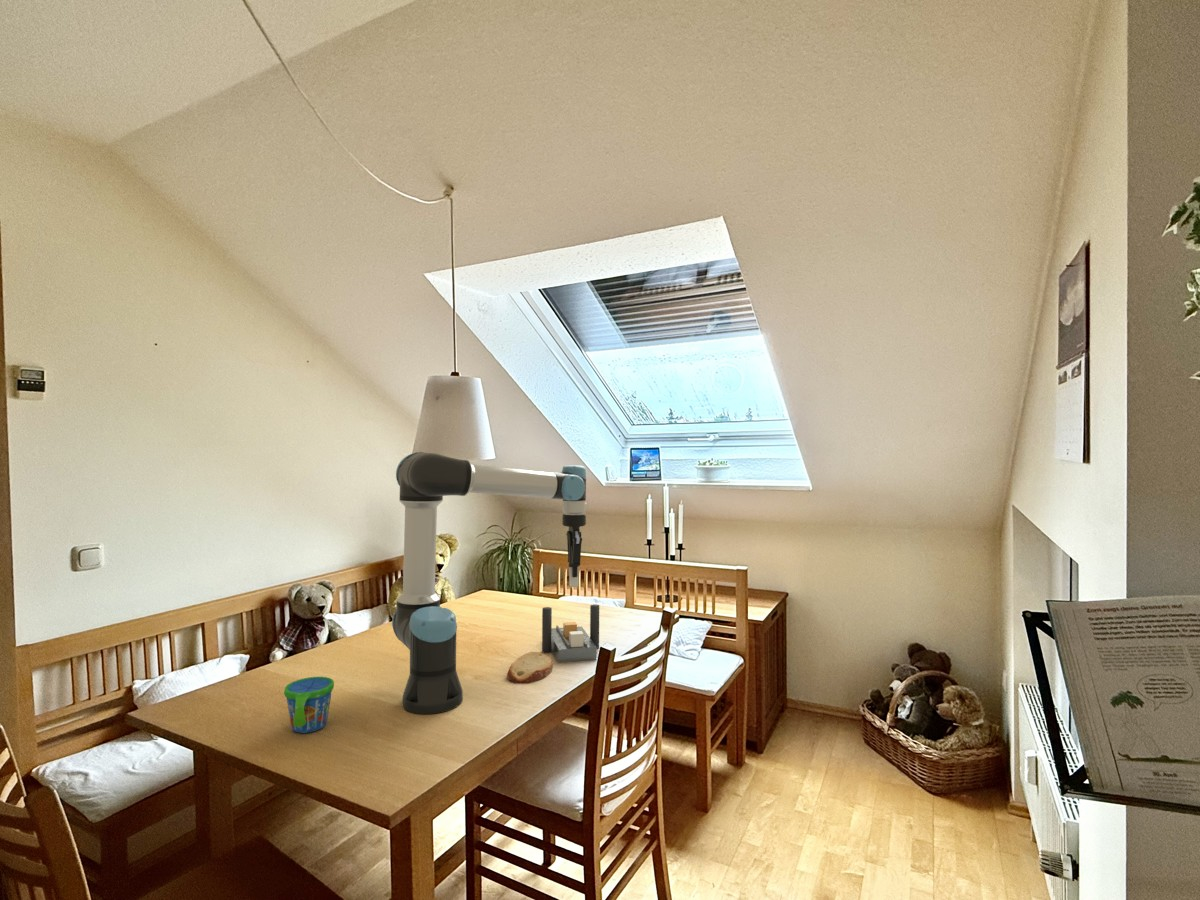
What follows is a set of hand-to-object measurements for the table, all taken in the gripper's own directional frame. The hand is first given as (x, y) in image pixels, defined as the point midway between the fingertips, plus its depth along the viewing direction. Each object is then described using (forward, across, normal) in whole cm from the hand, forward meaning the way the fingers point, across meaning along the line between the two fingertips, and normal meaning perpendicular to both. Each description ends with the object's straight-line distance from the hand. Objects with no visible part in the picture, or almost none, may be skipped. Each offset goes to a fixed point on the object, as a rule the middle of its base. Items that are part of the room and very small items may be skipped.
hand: (573, 586), depth 197 cm
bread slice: (+22, -11, +16) cm, 29 cm away
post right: (+22, +3, -8) cm, 23 cm away
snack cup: (+21, -37, +71) cm, 83 cm away
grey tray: (+22, +3, 0) cm, 22 cm away
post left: (+22, +3, +8) cm, 23 cm away
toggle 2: (+17, -5, 0) cm, 18 cm away
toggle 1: (+18, +5, 0) cm, 18 cm away
